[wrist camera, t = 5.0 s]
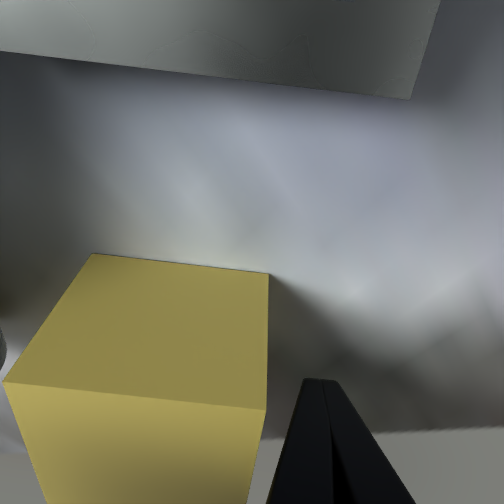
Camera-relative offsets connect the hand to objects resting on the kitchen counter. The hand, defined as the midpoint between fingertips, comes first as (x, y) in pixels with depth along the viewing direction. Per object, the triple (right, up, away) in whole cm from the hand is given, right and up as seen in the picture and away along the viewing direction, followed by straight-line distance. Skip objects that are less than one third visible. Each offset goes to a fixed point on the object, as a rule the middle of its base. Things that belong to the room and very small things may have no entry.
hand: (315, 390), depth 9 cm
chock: (-3, +1, +1) cm, 4 cm away
